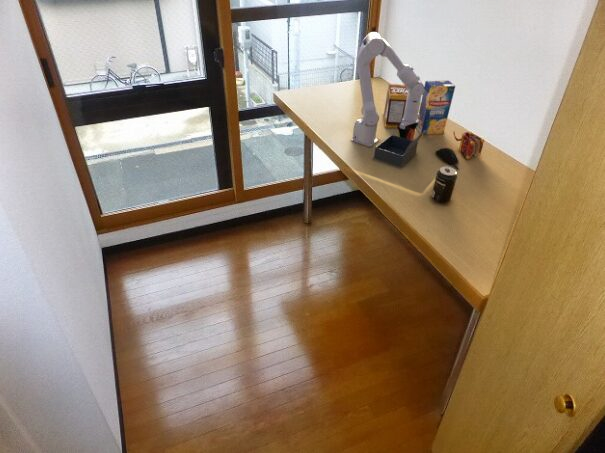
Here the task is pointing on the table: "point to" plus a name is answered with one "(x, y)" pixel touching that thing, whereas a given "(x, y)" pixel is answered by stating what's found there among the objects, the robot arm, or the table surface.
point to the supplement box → (395, 105)
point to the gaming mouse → (447, 156)
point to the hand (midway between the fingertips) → (406, 138)
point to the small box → (411, 134)
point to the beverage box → (435, 106)
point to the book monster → (470, 144)
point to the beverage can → (444, 185)
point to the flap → (414, 142)
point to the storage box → (394, 151)
